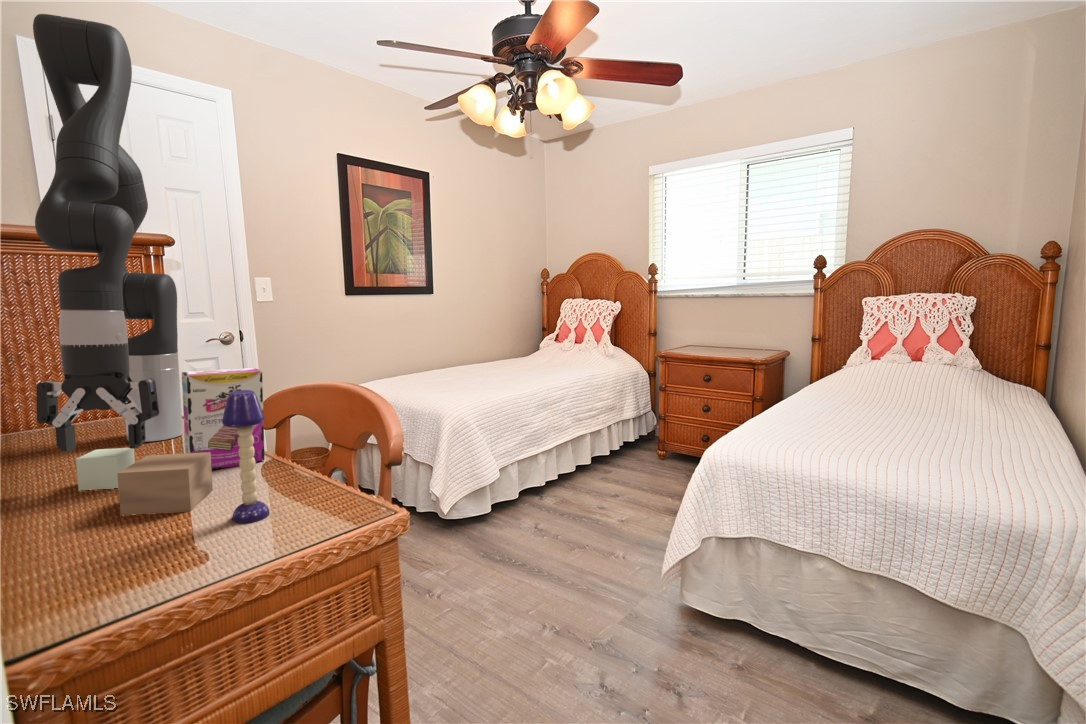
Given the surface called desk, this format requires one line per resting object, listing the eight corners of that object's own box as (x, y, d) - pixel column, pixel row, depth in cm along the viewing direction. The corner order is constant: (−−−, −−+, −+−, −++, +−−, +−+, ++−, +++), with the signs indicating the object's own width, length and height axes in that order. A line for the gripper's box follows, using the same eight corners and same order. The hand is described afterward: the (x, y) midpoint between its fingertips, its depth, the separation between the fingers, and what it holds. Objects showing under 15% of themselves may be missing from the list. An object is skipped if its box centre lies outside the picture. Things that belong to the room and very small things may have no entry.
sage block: (98, 480, 80) (95, 449, 79) (136, 478, 81) (133, 447, 81) (78, 492, 75) (75, 458, 74) (119, 489, 76) (116, 456, 76)
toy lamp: (262, 523, 65) (256, 394, 63) (221, 526, 64) (214, 394, 62) (273, 509, 70) (268, 388, 68) (235, 511, 69) (229, 388, 67)
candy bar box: (191, 475, 83) (185, 374, 81) (185, 468, 86) (179, 371, 84) (267, 461, 90) (263, 369, 89) (258, 455, 94) (254, 366, 92)
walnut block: (150, 495, 74) (147, 455, 74) (212, 491, 76) (210, 452, 76) (120, 517, 67) (117, 473, 66) (191, 512, 69) (188, 468, 68)
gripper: (162, 340, 81) (168, 440, 82) (54, 340, 77) (62, 445, 79) (138, 342, 74) (145, 453, 75) (17, 342, 70) (26, 458, 72)
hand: (102, 449), depth 77 cm, fingers open, 8 cm apart
